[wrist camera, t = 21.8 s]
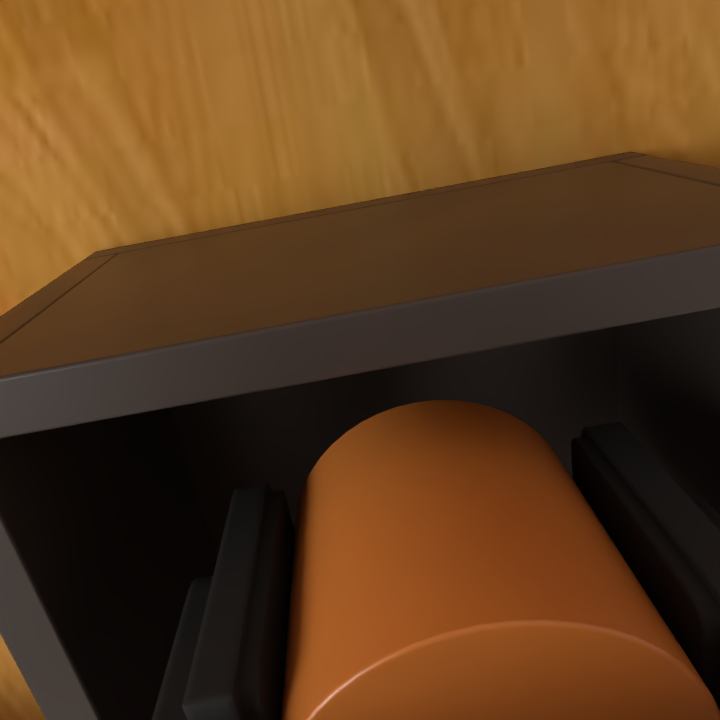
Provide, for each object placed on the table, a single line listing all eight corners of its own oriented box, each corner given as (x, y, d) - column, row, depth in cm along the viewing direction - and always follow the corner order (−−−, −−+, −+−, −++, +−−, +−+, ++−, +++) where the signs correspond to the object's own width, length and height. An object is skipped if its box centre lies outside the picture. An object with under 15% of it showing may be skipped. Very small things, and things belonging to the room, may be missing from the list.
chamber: (94, 251, 15) (-127, 400, 7) (631, 151, 14) (938, 205, 7) (246, 692, 20) (203, 1018, 13) (634, 625, 20) (806, 919, 13)
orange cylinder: (267, 427, 10) (223, 672, 6) (564, 374, 10) (743, 583, 5) (325, 646, 11) (324, 956, 7) (576, 604, 11) (719, 894, 7)
